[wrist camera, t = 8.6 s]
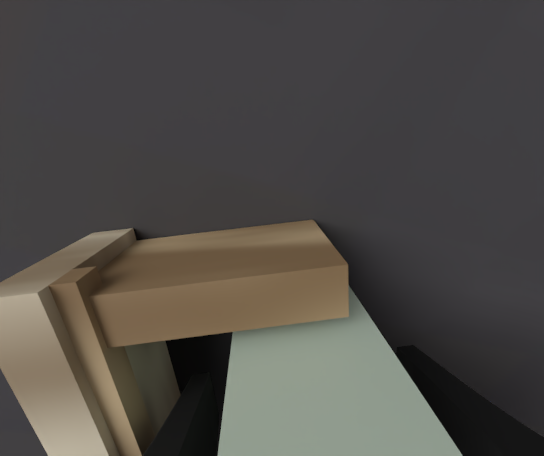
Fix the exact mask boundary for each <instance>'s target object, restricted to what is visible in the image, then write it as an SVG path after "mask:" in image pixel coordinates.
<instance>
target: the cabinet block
mask: <svg viewBox="0 0 544 456" xmlns="http://www.w3.org/2000/svg"><path fill="white" fill-rule="evenodd" d="M348 289H349V317H344V318H336V319H328V320H320V321H313V322H305V323H297V324H289V325H282V326H274V327H266V328H258V329H251V330H243V331H235V332H233V334H232V342H231V350H230V359H229V367H228V375H227V383H226V391H225V399H224V407H223V415H222V424H221V432H220V440H219V448H218V456H462V454H461V452H460V451H459V449H458V448H457V446H456V445H455V443H454V442H453V440H452V439H451V437H450V436H449V434H448V433H447V431H446V430H445V428H444V427H443V425H442V424H441V422H440V421H439V419H438V418H437V416H436V415H435V413H434V412H433V410H432V409H431V407H430V406H429V404H428V403H427V401H426V400H425V398H424V397H423V395H422V394H421V393H420V391H419V390H418V388H417V387H416V385H415V384H414V382H413V381H412V379H411V378H410V376H409V375H408V373H407V372H406V370H405V369H404V367H403V366H402V364H401V363H400V361H399V360H398V358H397V357H396V355H395V354H394V352H393V351H392V349H391V348H390V346H389V345H388V343H387V342H386V340H385V339H384V337H383V336H382V334H381V333H380V331H379V330H378V328H377V327H376V325H375V324H374V322H373V321H372V319H371V318H370V316H369V315H368V313H367V312H366V310H365V309H364V307H363V306H362V304H361V303H360V301H359V300H358V298H357V297H356V295H355V294H354V292H353V291H352V289H351V288H350V286H349V285H348Z"/></svg>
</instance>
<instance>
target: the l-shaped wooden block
mask: <svg viewBox="0 0 544 456" xmlns="http://www.w3.org/2000/svg"><path fill="white" fill-rule="evenodd" d="M344 317H349V289H348V264H347V262H346V261H345V260H344V259H343V257H342V256H341V255H340V254H339V252H338V251H337V250H336V248H335V247H334V246H333V245H332V243H331V242H330V241H329V239H328V238H327V237H326V236H325V234H324V233H323V232H322V230H321V229H320V228H319V227H318V225H317V224H316V223H315V221H314V220H305V221H297V222H288V223H280V224H272V225H263V226H255V227H246V228H238V229H230V230H221V231H213V232H204V233H196V234H187V235H179V236H171V237H162V238H154V239H145V240H136V236H135V233H134V229H133V228H130V229H121V230H113V231H104V232H96V233H92V234H90V235H88V236H86V237H84V238H82V239H80V240H79V241H77V242H75V243H73V244H71V245H69V246H67V247H66V248H64V249H62V250H60V251H58V252H56V253H54V254H52V255H51V256H49V257H47V258H45V259H43V260H41V261H39V262H38V263H36V264H34V265H32V266H30V267H28V268H26V269H25V270H23V271H21V272H19V273H17V274H15V275H13V276H11V277H10V278H8V279H6V280H4V281H2V282H0V368H1V370H2V372H3V374H4V376H5V377H6V379H7V381H8V383H9V385H10V387H11V388H12V390H13V392H14V394H15V396H16V398H17V399H18V401H19V403H20V405H21V407H22V408H23V410H24V412H25V414H26V416H27V418H28V419H29V421H30V423H31V425H32V427H33V429H34V430H35V432H36V434H37V436H38V438H39V440H40V441H41V443H42V445H43V447H44V449H45V451H46V452H47V454H48V456H143V454H144V453H145V451H146V450H147V448H148V447H149V445H150V444H151V442H152V441H153V439H154V438H155V436H156V435H157V433H158V431H159V430H160V428H161V427H162V425H163V423H164V422H165V420H166V419H167V417H168V415H169V414H170V412H171V410H172V409H173V407H174V405H175V404H176V402H177V400H178V399H179V397H180V391H179V388H178V384H177V381H176V377H175V373H174V370H173V366H172V363H171V359H170V356H169V352H168V349H167V345H166V342H165V340H173V339H181V338H189V337H196V336H204V335H212V334H220V333H227V332H235V331H243V330H251V329H258V328H266V327H274V326H282V325H289V324H297V323H305V322H313V321H320V320H328V319H336V318H344Z"/></svg>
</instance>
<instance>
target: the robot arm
mask: <svg viewBox="0 0 544 456" xmlns="http://www.w3.org/2000/svg"><path fill="white" fill-rule="evenodd" d="M397 358H398V360H399V361H400V363H401V364H402V366H403V367H404V369H405V370H406V372H407V373H408V375H409V376H410V378H411V379H412V381H413V382H414V384H415V385H416V387H417V388H418V390H419V391H420V393H421V394H422V395H423V397H424V398H425V400H426V401H427V403H428V404H429V406H430V407H431V409H432V410H433V412H434V413H435V415H436V416H437V418H438V419H439V421H440V422H441V424H442V425H443V427H444V428H445V430H446V431H447V433H448V434H449V436H450V437H451V439H452V440H453V442H454V443H455V445H456V446H457V448H458V449H459V451H460V452H461V454H462V456H544V437H542V436H540V435H539V434H537V433H536V432H534V431H532V430H531V429H529V428H528V427H526V426H525V425H523V424H522V423H520V422H519V421H517V420H516V419H514V418H513V417H511V416H510V415H508V414H507V413H505V412H504V411H502V410H501V409H499V408H498V407H496V406H495V405H493V404H492V403H491V402H489V401H488V400H486V399H485V398H483V397H482V396H481V395H479V394H478V393H476V392H475V391H474V390H472V389H471V388H469V387H468V386H467V385H465V384H464V383H463V382H461V381H460V380H459V379H457V378H456V377H454V376H453V375H452V374H450V373H449V372H448V371H447V370H445V369H444V368H443V367H441V366H440V365H439V364H437V363H436V362H435V361H433V360H432V359H431V358H429V357H428V356H427V355H425V354H424V353H423V352H421V351H420V350H419V349H417V348H416V347H415V346H413V345H411V346H404V347H397ZM218 422H219V411H218V406H217V402H216V397H215V393H214V389H213V384H212V380H211V376H210V372H208V373H201V374H193V375H192V376H191V378H190V379H189V381H188V383H187V385H186V386H185V388H184V390H183V392H182V393H181V395H180V397H179V399H178V400H177V402H176V404H175V405H174V407H173V409H172V410H171V412H170V414H169V415H168V417H167V419H166V420H165V422H164V423H163V425H162V427H161V428H160V430H159V431H158V433H157V435H156V436H155V438H154V439H153V441H152V442H151V444H150V445H149V447H148V448H147V450H146V451H145V453H144V454H143V456H215V454H216V448H217V436H218Z"/></svg>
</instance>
